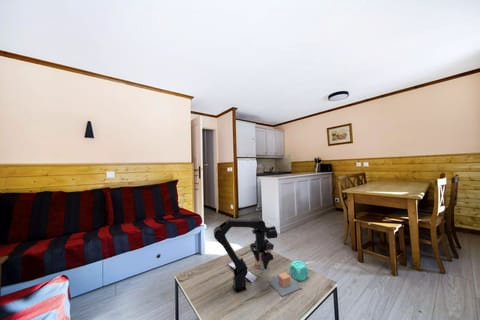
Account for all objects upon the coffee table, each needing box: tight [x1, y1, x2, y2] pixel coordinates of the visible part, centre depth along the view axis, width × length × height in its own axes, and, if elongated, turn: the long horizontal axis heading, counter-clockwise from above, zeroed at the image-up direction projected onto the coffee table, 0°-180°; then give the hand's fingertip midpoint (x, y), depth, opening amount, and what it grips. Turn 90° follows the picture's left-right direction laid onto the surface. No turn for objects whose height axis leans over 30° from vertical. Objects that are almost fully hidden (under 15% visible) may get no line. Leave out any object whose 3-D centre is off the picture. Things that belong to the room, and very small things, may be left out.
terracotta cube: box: [277, 271, 291, 288], centre depth 104 cm, size 5×5×5 cm
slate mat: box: [267, 276, 303, 298], centre depth 104 cm, size 14×14×1 cm
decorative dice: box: [289, 260, 309, 282], centre depth 111 cm, size 8×8×8 cm
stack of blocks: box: [254, 249, 272, 270], centre depth 131 cm, size 21×6×12 cm, turn 156°
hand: (261, 265), depth 107 cm, fingers open, 9 cm apart
